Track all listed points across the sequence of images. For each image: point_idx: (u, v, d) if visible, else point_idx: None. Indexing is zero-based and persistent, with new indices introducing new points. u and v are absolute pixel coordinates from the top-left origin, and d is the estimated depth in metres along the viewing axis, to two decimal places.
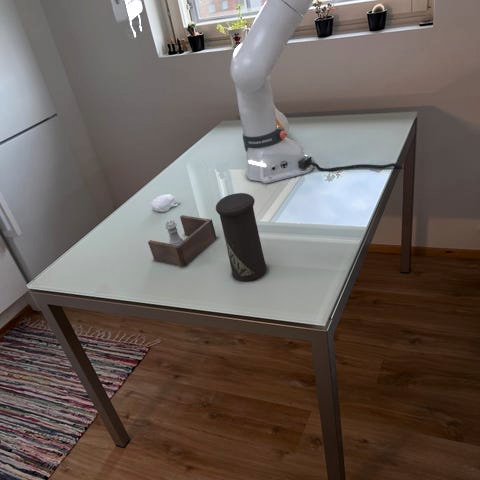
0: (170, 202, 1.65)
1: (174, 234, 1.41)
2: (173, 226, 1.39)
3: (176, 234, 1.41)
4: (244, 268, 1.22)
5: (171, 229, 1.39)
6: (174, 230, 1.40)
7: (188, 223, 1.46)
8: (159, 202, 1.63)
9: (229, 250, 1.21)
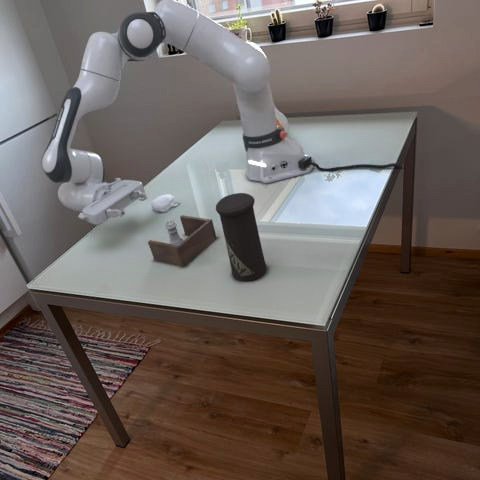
0: (170, 202, 1.65)
1: (174, 234, 1.41)
2: (173, 226, 1.39)
3: (176, 234, 1.41)
4: (244, 268, 1.22)
5: (171, 229, 1.39)
6: (174, 230, 1.40)
7: (188, 223, 1.46)
8: (159, 202, 1.63)
9: (229, 250, 1.21)
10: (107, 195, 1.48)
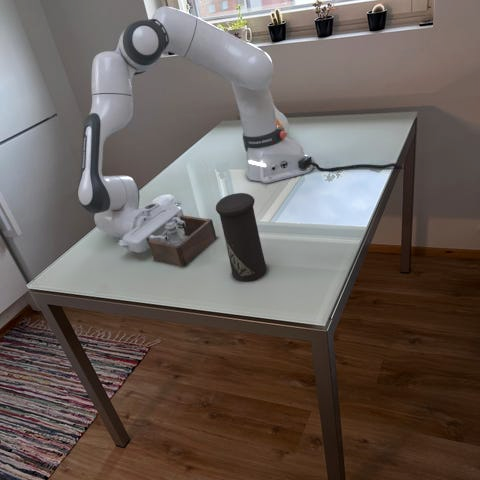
0: (170, 202, 1.65)
1: (174, 234, 1.40)
2: (173, 226, 1.39)
3: (176, 234, 1.41)
4: (244, 268, 1.22)
5: (171, 229, 1.39)
6: (174, 230, 1.40)
7: (188, 223, 1.46)
8: (159, 202, 1.63)
9: (229, 250, 1.21)
10: (147, 221, 1.45)
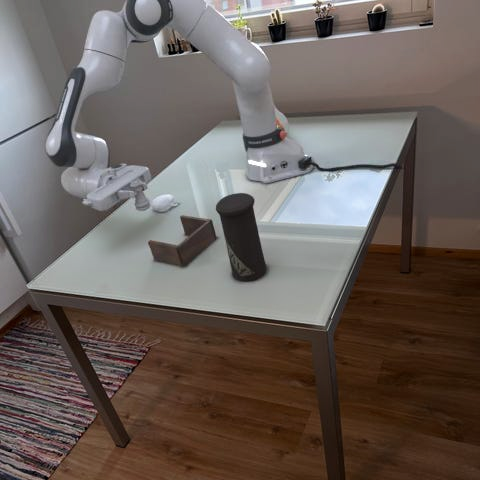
0: (170, 202, 1.65)
1: (139, 192, 1.38)
2: (138, 184, 1.36)
3: (141, 192, 1.38)
4: (244, 268, 1.22)
5: (136, 187, 1.37)
6: (139, 188, 1.37)
7: (188, 223, 1.46)
8: (159, 202, 1.63)
9: (229, 250, 1.21)
10: (112, 181, 1.43)
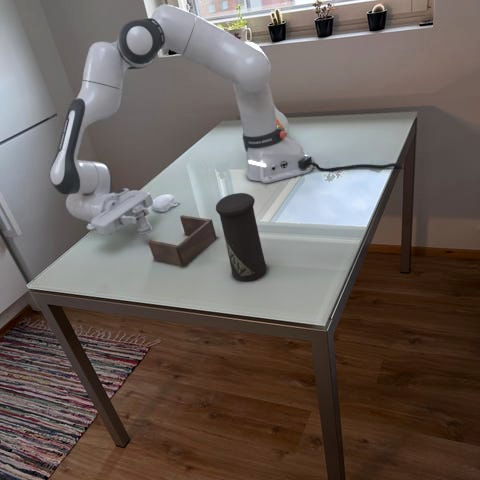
0: (170, 202, 1.65)
1: (141, 217, 1.44)
2: (140, 210, 1.43)
3: (143, 218, 1.45)
4: (244, 268, 1.22)
5: (138, 213, 1.43)
6: (141, 214, 1.44)
7: (188, 223, 1.46)
8: (159, 202, 1.63)
9: (229, 250, 1.21)
10: (115, 206, 1.49)
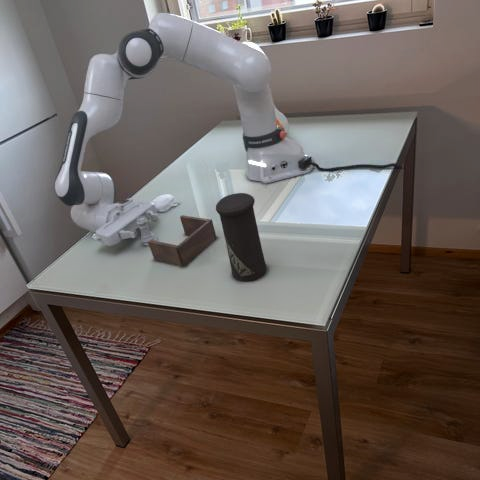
0: (170, 202, 1.65)
1: (145, 229, 1.46)
2: (144, 221, 1.45)
3: (147, 229, 1.47)
4: (244, 268, 1.22)
5: (142, 224, 1.45)
6: (145, 225, 1.46)
7: (188, 223, 1.46)
8: (159, 202, 1.63)
9: (229, 250, 1.21)
10: (120, 216, 1.51)
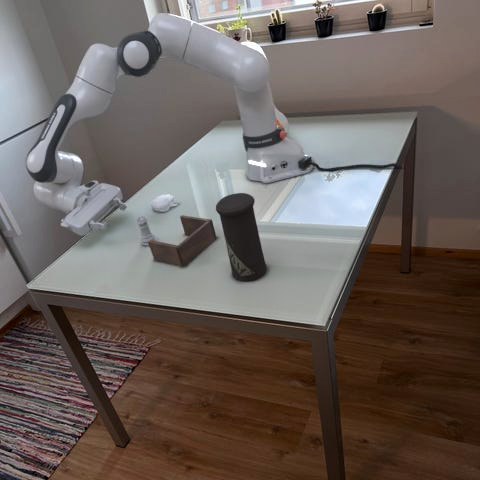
0: (170, 202, 1.65)
1: (145, 229, 1.46)
2: (144, 221, 1.45)
3: (147, 229, 1.47)
4: (244, 268, 1.22)
5: (142, 224, 1.45)
6: (145, 225, 1.46)
7: (188, 223, 1.46)
8: (158, 202, 1.63)
9: (229, 250, 1.21)
10: (87, 202, 1.54)
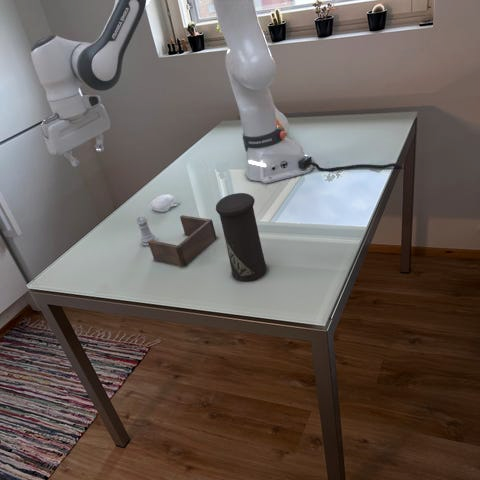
0: (170, 202, 1.65)
1: (145, 229, 1.46)
2: (144, 221, 1.45)
3: (147, 229, 1.47)
4: (244, 267, 1.22)
5: (142, 224, 1.45)
6: (145, 225, 1.46)
7: (188, 223, 1.46)
8: (158, 202, 1.63)
9: (229, 250, 1.21)
10: (79, 120, 1.35)
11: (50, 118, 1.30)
